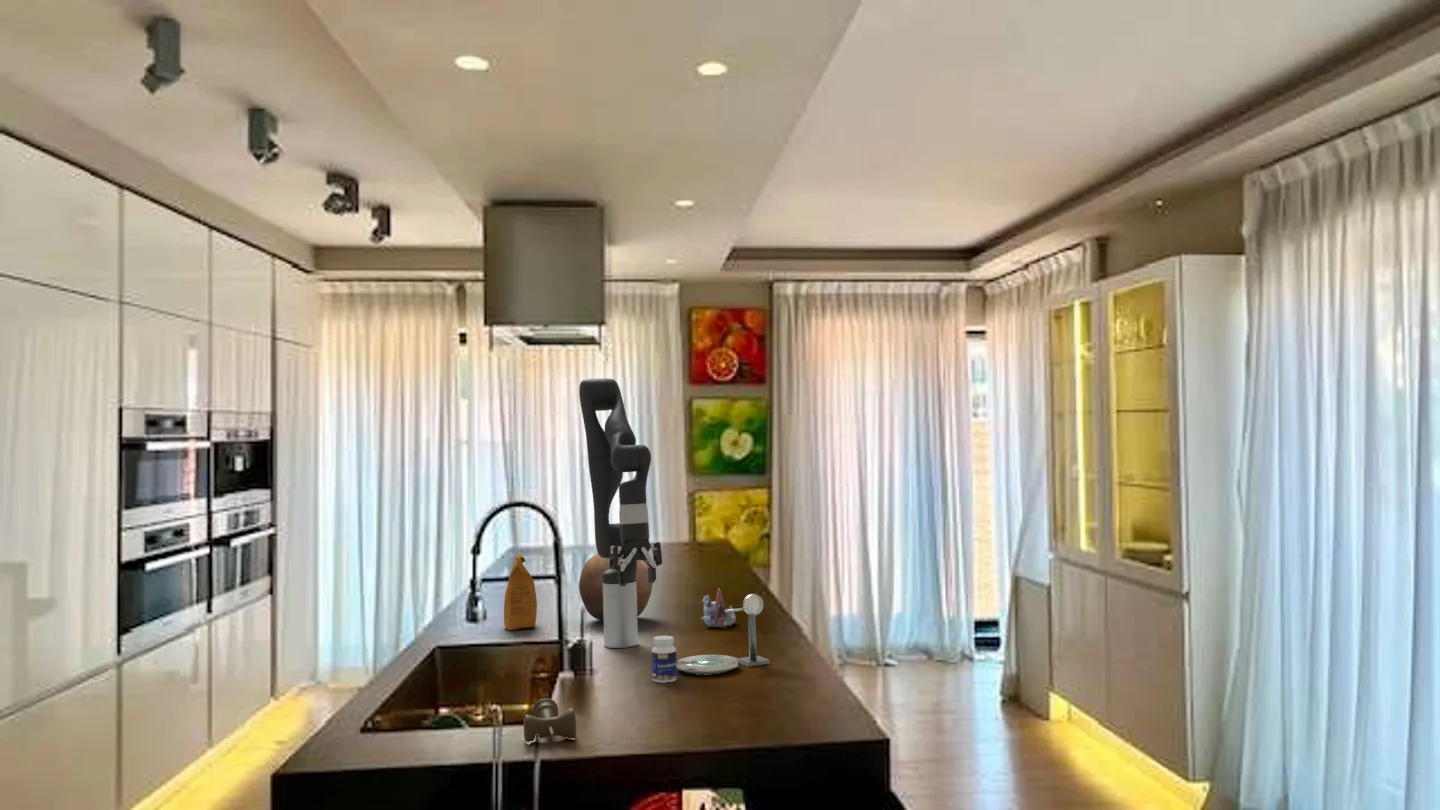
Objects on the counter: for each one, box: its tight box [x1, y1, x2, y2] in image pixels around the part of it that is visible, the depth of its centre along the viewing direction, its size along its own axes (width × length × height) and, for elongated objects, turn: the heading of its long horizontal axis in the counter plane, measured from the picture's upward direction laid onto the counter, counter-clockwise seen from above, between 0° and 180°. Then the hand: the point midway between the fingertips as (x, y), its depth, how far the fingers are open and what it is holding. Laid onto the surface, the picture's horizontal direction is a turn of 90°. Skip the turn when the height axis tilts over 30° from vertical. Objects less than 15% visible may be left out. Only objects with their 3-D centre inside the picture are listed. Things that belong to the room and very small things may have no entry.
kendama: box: [523, 698, 577, 742], centre depth 190 cm, size 6×10×20 cm
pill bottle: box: [651, 635, 678, 684], centre depth 231 cm, size 6×6×10 cm
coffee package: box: [503, 553, 538, 631], centre depth 305 cm, size 10×12×22 cm
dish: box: [676, 654, 739, 675], centre depth 240 cm, size 15×15×2 cm
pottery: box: [578, 552, 654, 622], centre depth 310 cm, size 23×23×25 cm
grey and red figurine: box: [700, 587, 737, 627], centre depth 298 cm, size 11×11×12 cm
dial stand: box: [724, 593, 771, 668], centre depth 245 cm, size 6×10×17 cm, turn 117°
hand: (637, 584), depth 258 cm, fingers open, 8 cm apart
